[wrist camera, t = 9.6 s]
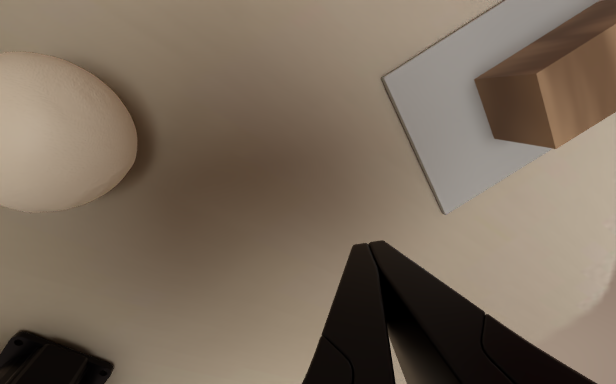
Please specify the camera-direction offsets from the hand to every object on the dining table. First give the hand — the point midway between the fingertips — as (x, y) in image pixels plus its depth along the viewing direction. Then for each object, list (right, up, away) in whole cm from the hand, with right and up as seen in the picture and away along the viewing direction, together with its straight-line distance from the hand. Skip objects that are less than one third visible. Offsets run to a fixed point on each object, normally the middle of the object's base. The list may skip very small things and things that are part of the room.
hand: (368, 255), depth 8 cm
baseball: (-14, +5, +9) cm, 18 cm away
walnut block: (+11, +7, +10) cm, 16 cm away
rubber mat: (+13, +9, +12) cm, 20 cm away
